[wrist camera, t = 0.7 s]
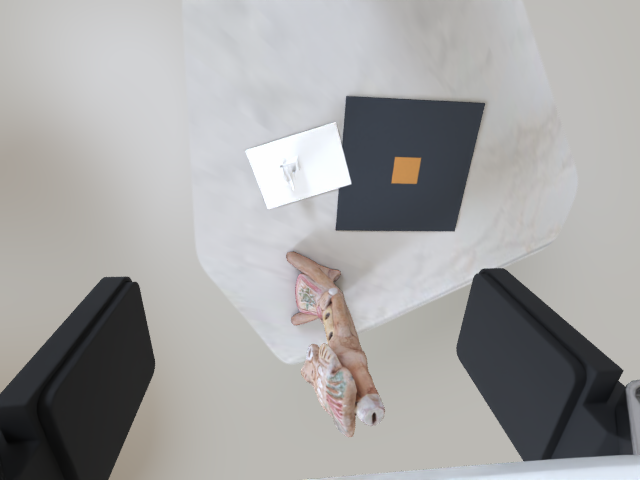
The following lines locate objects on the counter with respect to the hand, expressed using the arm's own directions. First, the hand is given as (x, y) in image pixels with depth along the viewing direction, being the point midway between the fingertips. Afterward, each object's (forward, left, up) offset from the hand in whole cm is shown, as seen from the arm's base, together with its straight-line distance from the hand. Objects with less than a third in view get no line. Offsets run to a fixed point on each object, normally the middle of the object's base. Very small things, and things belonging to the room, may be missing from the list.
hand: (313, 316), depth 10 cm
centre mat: (+4, +13, -30) cm, 33 cm away
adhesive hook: (+4, +1, -31) cm, 31 cm away
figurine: (+20, +3, -31) cm, 37 cm away
